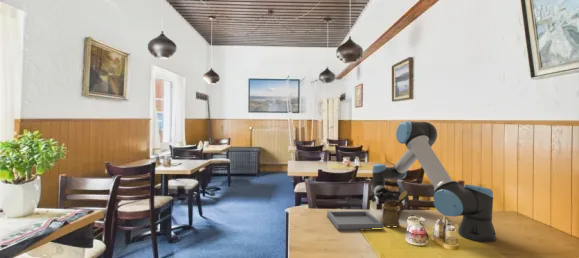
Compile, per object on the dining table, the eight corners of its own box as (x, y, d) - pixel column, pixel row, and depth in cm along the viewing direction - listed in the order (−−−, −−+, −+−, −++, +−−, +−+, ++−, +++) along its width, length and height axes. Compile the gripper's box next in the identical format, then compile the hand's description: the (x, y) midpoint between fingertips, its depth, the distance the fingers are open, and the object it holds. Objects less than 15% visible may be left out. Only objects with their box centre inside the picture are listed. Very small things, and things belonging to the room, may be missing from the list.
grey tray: (382, 230, 155) (382, 223, 155) (337, 230, 153) (338, 224, 153) (366, 216, 177) (366, 210, 177) (327, 216, 175) (327, 211, 175)
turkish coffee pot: (411, 228, 159) (412, 191, 159) (383, 227, 159) (385, 191, 158) (404, 222, 168) (405, 187, 168) (378, 222, 168) (379, 187, 167)
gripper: (403, 200, 191) (414, 210, 170) (360, 198, 192) (366, 208, 171) (403, 187, 191) (415, 195, 170) (360, 186, 192) (367, 193, 171)
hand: (390, 202), depth 170 cm, fingers open, 13 cm apart
